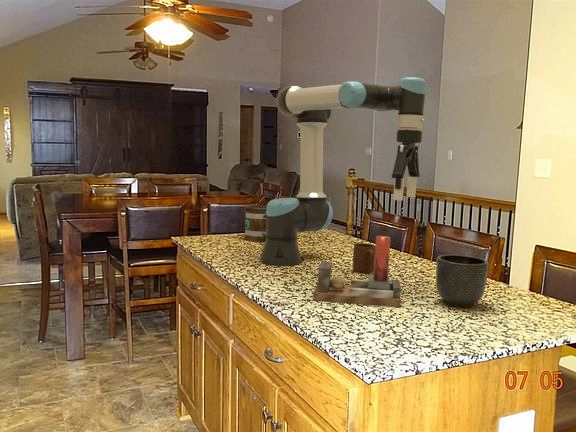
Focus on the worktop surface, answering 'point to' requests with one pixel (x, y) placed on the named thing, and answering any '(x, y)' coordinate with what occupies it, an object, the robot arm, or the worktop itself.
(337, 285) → the walnut
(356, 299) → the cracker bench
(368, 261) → the mug
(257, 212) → the mug
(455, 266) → the planter
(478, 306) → the worktop surface
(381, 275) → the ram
